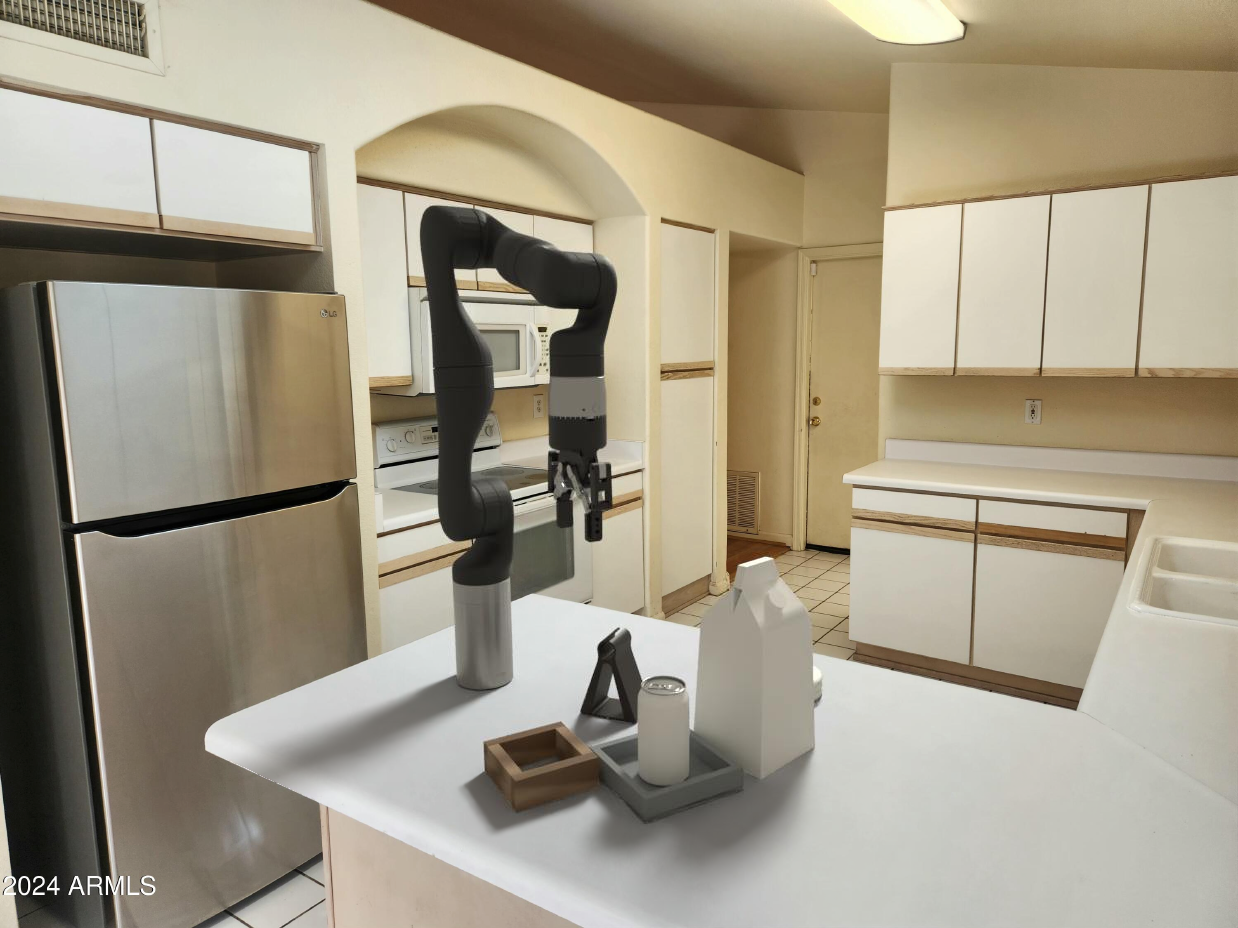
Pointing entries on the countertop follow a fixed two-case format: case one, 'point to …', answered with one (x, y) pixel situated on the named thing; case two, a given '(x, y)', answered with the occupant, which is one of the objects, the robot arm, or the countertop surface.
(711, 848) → the countertop surface
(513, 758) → the socket block
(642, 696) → the can
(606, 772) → the tray
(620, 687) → the phone stand
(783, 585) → the milk
